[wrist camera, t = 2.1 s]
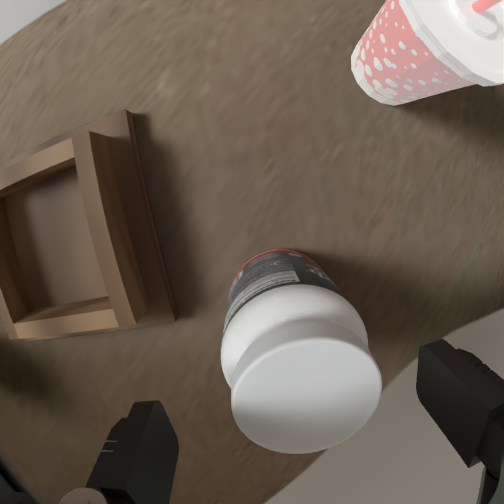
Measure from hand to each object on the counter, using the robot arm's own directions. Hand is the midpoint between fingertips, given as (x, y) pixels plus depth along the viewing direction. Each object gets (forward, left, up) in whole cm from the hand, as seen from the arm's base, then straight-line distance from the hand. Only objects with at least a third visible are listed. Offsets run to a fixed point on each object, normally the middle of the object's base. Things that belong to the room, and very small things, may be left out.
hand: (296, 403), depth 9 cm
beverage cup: (-9, -12, -10) cm, 18 cm away
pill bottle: (0, 0, -10) cm, 10 cm away
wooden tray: (+12, -6, -10) cm, 16 cm away
